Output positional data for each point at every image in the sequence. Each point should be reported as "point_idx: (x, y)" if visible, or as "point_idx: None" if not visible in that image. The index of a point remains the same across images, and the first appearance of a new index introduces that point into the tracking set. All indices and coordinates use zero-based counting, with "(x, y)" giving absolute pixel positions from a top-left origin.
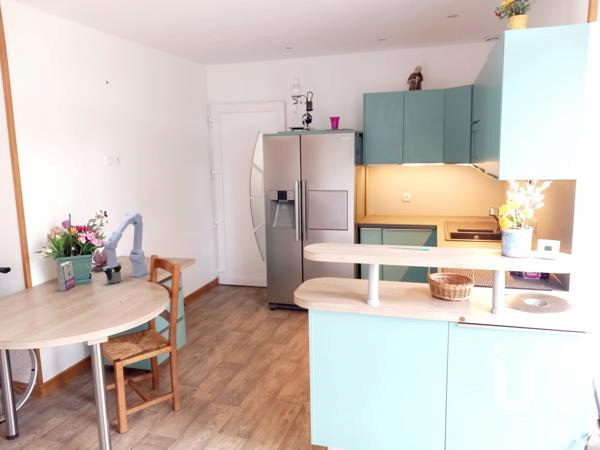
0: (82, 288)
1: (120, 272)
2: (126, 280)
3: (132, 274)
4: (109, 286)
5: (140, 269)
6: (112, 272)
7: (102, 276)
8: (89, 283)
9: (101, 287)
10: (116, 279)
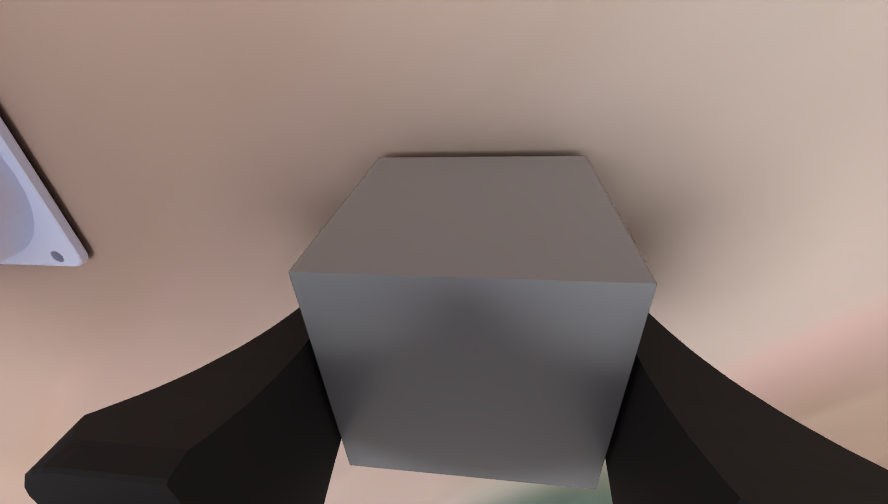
0: (880, 443)
1: (299, 262)
2: (273, 112)
3: (32, 260)
4: (790, 116)
5: None
6: (450, 433)
7: (330, 498)
8: (607, 480)
9: (864, 228)
10: (517, 183)
